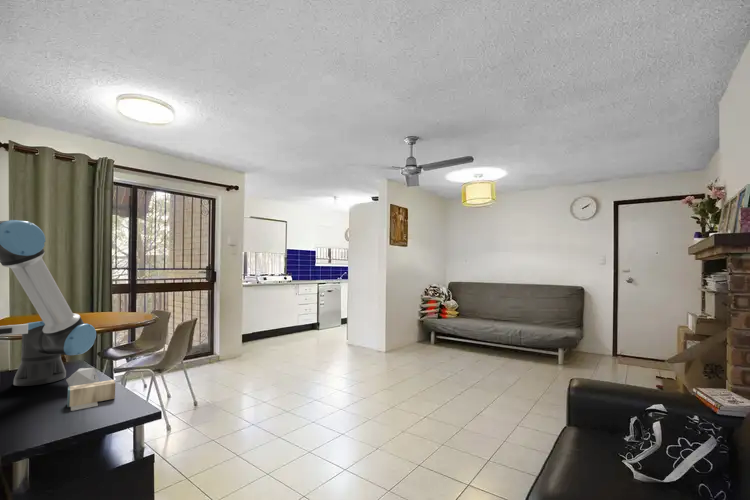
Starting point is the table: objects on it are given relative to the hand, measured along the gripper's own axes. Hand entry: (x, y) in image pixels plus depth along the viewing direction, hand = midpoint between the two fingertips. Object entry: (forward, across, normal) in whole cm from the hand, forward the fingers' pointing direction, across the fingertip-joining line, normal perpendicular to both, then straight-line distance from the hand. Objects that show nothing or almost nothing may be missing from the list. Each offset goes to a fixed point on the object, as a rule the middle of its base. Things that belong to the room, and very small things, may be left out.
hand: (27, 328), depth 111 cm
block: (+10, 0, -22) cm, 24 cm away
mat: (+14, 0, -25) cm, 29 cm away
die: (+14, -16, -26) cm, 33 cm away
